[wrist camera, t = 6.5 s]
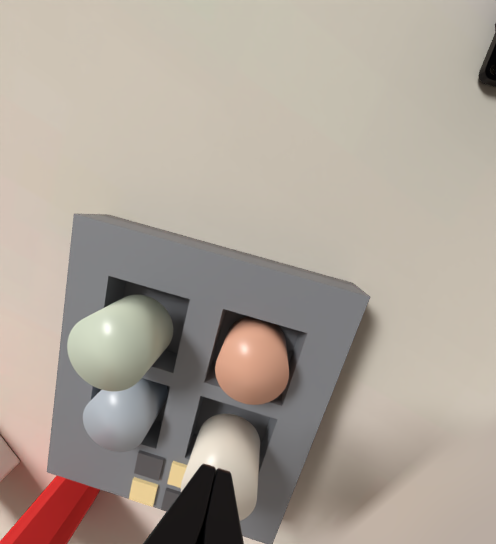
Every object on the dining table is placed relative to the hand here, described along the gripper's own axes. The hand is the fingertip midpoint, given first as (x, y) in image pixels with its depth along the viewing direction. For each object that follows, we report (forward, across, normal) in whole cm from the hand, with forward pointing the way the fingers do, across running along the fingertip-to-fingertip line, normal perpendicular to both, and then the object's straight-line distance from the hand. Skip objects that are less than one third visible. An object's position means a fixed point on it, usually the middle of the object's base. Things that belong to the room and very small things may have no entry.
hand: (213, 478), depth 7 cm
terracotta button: (+10, -1, +1) cm, 10 cm away
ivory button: (+8, -1, +7) cm, 11 cm away
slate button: (+10, +6, +7) cm, 13 cm away
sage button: (+8, +6, +1) cm, 10 cm away
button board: (+11, +3, +5) cm, 12 cm away
